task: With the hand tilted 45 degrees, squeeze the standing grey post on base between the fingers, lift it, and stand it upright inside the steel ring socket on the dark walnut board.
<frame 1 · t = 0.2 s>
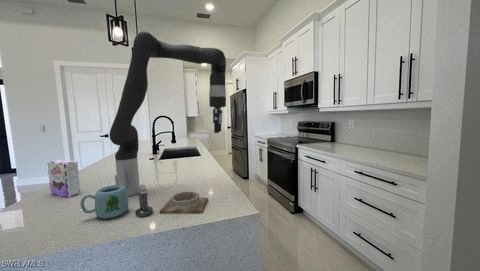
hand: (217, 132, 96), 29 cm above the counter, tool pointing down, fingers open, 8 cm apart
candy box: (65, 194, 103), on the counter
grey post on base: (144, 213, 79), on the counter
mug: (106, 215, 79), on the counter
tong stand: (185, 206, 85), on the counter
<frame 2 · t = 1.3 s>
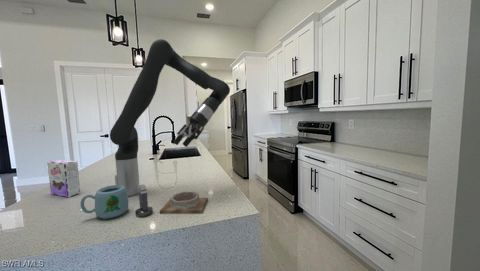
hand: (179, 144, 88), 25 cm above the counter, tool tilted 45°, fingers open, 8 cm apart
nothing on the counter moved.
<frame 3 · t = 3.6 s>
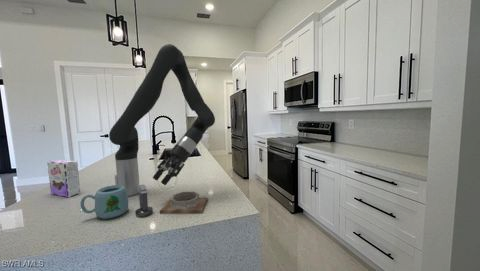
hand: (158, 181, 83), 11 cm above the counter, tool tilted 45°, fingers open, 8 cm apart
nothing on the counter moved.
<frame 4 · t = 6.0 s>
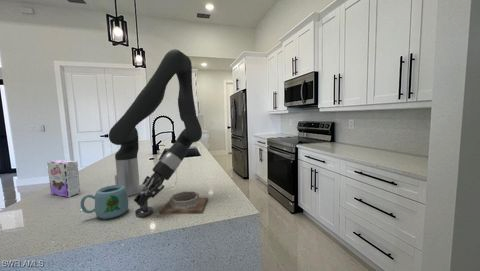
hand: (137, 203, 78), 5 cm above the counter, tool tilted 45°, fingers closed on grey post on base, 3 cm apart
grey post on base: (144, 213, 79), on the counter, touching gripper
everything else where it was.
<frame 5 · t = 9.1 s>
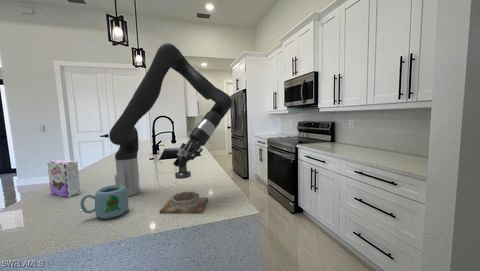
hand: (177, 166, 82), 17 cm above the counter, tool tilted 45°, fingers closed on grey post on base, 3 cm apart
grey post on base: (183, 176, 83), point 13 cm above the counter, touching gripper
everything else where it was.
when the fingers open (7 cm above the counter, at t = 11.9 s): grey post on base drops 1 cm, resting on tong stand.
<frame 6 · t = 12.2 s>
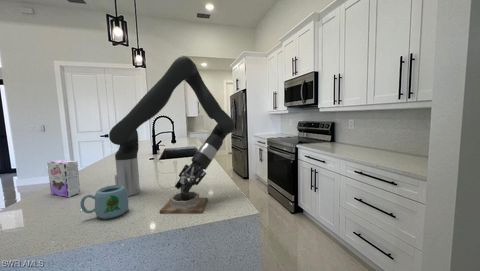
hand: (180, 189, 83), 7 cm above the counter, tool tilted 45°, fingers open, 6 cm apart
grey post on base: (185, 203, 85), point 1 cm above the counter, touching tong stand
everything else where it was.
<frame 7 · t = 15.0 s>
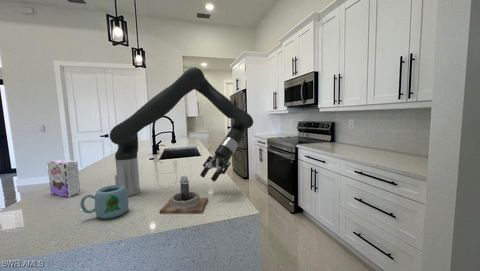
hand: (207, 178, 91), 9 cm above the counter, tool tilted 45°, fingers open, 8 cm apart
nothing on the counter moved.
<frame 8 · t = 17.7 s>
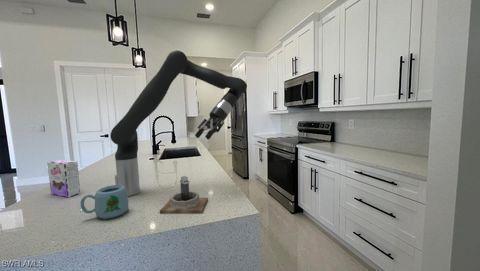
hand: (201, 137, 94), 27 cm above the counter, tool tilted 45°, fingers open, 8 cm apart
nothing on the counter moved.
at the end: grey post on base 0.1 cm off-centre on the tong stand, point 1.2 cm above the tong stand's base; grey post on base tilted 1°; the gripper is holding nothing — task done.
